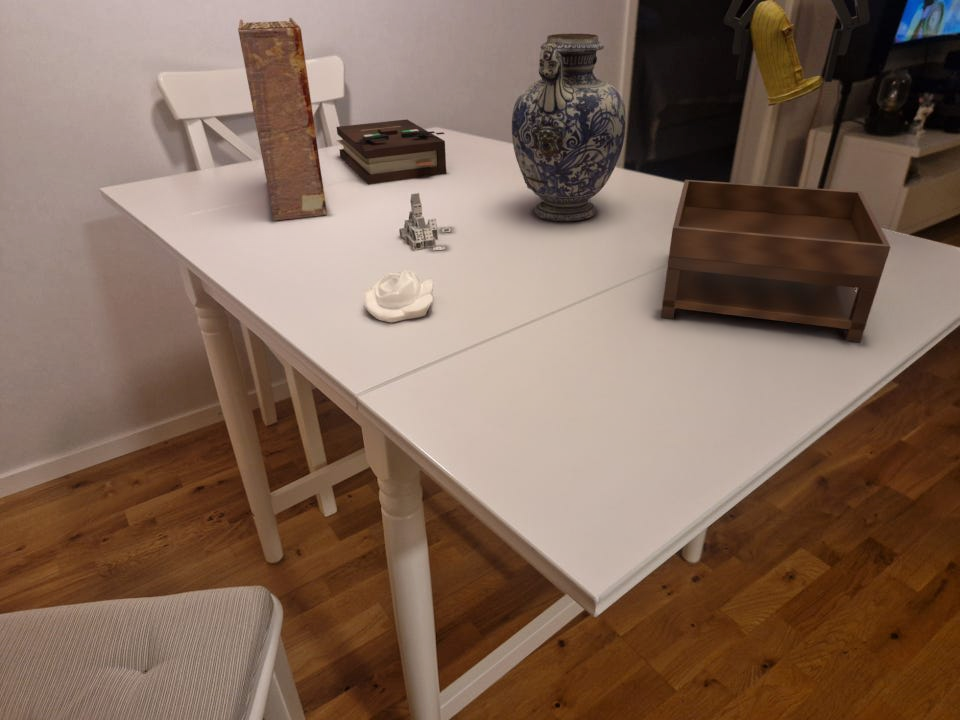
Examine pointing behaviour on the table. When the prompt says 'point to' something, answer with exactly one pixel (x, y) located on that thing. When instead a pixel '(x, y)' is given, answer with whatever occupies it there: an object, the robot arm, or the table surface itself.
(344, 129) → the decorative book
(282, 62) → the book
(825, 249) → the brown wooden open box
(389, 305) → the rose
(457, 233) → the table surface
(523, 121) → the decorative vase
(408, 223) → the house of cards
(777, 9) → the shrine
